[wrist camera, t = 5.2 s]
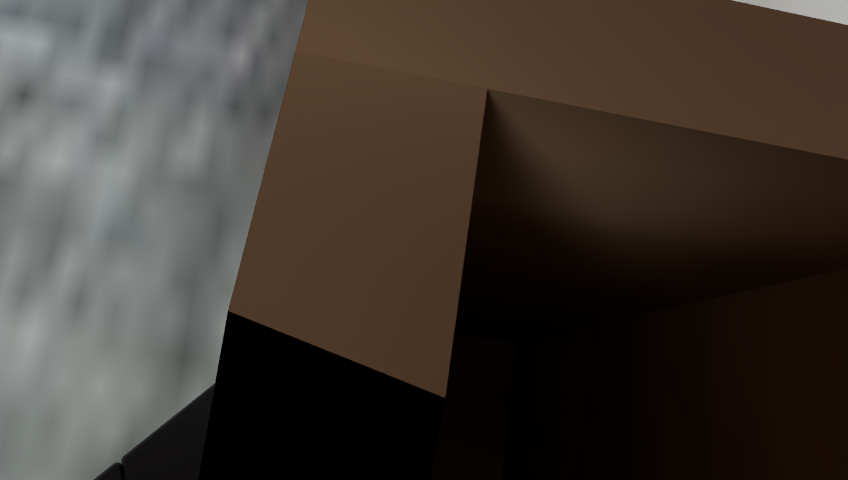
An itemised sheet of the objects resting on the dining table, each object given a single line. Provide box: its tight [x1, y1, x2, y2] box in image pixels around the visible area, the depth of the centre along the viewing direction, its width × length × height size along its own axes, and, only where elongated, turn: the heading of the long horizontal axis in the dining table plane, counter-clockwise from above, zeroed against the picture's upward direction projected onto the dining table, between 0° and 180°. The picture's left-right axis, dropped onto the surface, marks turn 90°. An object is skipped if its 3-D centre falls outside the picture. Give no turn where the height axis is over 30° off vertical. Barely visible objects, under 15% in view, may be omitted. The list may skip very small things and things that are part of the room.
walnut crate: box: [198, 0, 848, 480], centre depth 8 cm, size 6×5×12 cm
